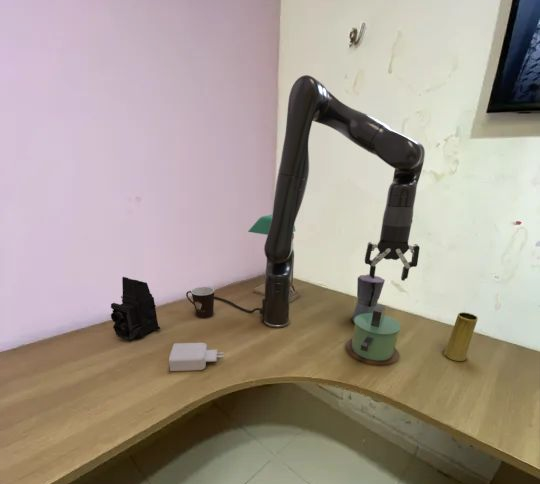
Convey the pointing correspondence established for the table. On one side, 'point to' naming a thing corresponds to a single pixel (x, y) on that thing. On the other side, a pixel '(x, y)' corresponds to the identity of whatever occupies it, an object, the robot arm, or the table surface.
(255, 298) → the table surface
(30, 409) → the table surface
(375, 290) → the moka pot
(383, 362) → the trivet
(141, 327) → the camera
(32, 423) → the table surface
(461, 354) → the vase
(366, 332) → the pot
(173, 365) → the charger
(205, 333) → the table surface
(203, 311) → the coffee mug
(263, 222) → the banker's lamp
